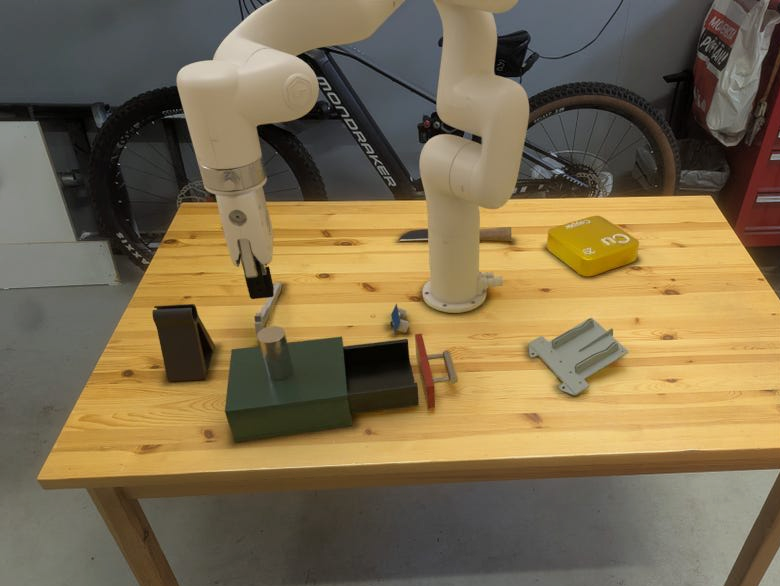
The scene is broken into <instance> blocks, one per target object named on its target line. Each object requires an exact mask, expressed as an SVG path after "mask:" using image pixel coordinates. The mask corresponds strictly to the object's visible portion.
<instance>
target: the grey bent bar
mask: <svg viewBox="0 0 780 586" xmlns="http://www.w3.org/2000/svg"><path fill="white" fill-rule="evenodd" d="M282 286H283V283H282V282H274V284H273V287H274V291H273V292H274V296H273V297H269V298H267V299H266V300H265V301H266V302H265V304H264V306H262V307H261V309H260V311H259V312H255V315H254V316H253V317H254V328H255V334H256V336H257V334H258V333H259V331H260V330H262V329H264V328H266V327H267V326H268V324H270V321H271V313H272V311H273V309H274V307H275V305H276V302H277V300H278V298H279V296H280V294H281V291H282V289H283V288H282ZM256 339H257V340H258V338H257V337H256ZM257 343H258V344H259V342H258V341H257Z"/></svg>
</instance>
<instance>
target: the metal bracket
mask: <svg viewBox="0 0 780 586" xmlns="http://www.w3.org/2000/svg"><path fill="white" fill-rule="evenodd" d="M528 353H529V357H530V358H532V359H533V358H536V357H539V358H540V359H541V360H542V361H543V362H544V364H545V365H546V366H547V367H548V368H549V369H550V370H551V372H553V373H554V375H555V376H556V377H558V378H559V380H560V381H561V382H562V384H560V385H559V386H558V389H559V390H560V391H561V392H564V393H567V394H568V395H572V396H578V395H579V394H581V393H582V392H584V391H587V390H588V389H589V388H590V384H589V383H588V382H587V381H586V379H587V378H589V377H591V376H592V375H594V374H595V373H597V372H599V371H600V370H602V369H604V368H606V367H607V366H609V365H610V364H613V363H614V362H616V361H618V360H619V359H621V358H622V357H624V356H626V355H627V354H629V350H628V349H627V348H626V347H625V346H624V345H622V344H621V342H619V340H617V339H616V338H615V337H614V328H612V327H611V328H610V329H607V330H606V329H605V328H604V327H603V326H602V325H601V324H600V323H599V322H598V321H597V320H595V318H593V317H589V318H587V319H586V320H584V321H582V322H581V323H579V324H577V325H575V326H574V327H572V328H569V329H568V330H566V331H565V332H562V333H561V334H559V335H558V336H556V337H554V338H552V339H551V340H548V339H546V338H545V337H544V336H543V335H541V336H540V335H539V336H538V337H536V338H535V339H533V340H532V341H531V340H530V342H529V343H528Z"/></svg>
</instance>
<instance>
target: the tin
mask: <svg viewBox="0 0 780 586" xmlns="http://www.w3.org/2000/svg"><path fill="white" fill-rule="evenodd" d="M286 334H287V333H286V331H285V329H284V328H283V327H281V326H278V325H269V326H266V328H264V329H262V330H260V331H259V333H258V334H257V335H256V339H257V338H258V339H257V343H258V342H259V343H258V346H260V350H261V354H262V358H263V362H264V365H265V369H266V373H267V376H268V378H269V379H271V380H274V381H281V380H285V379H287V378H289V377H290V376H291V375H292V374H293V366H292V361H291V357H290V352H289V348H288V343H289V342H288V339H287V335H286Z"/></svg>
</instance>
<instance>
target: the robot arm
mask: <svg viewBox="0 0 780 586" xmlns="http://www.w3.org/2000/svg"><path fill="white" fill-rule="evenodd" d="M405 2H406V0H271V1H268V2H266V3H265V4H263V5H262V6H260V7H259V8H257V9H256V10H254V11H253V12H251V13H250V14H249V15H248V16H247V17H245V18H244V19H243V20H242V21H241V22H240V23H239V24H238V25H237V26H236V27H234V29H233V30H232V31H231V32H229V33H228V34H227V36H226V37H225V38H224V39H223V40H222V42H221V43H220V44H219V46H218V48H217V49H216V51H215V53H214V55H213V59H212V60H211V59H210V60H208V59H207V60H200V61H196V62H192V63H189V64H186V65H184V66H183V67H182V68H180V70H179V71H178V73H177V75H176V86H177V92H178V94H179V98H180V102H181V107H182V110H183V113H184V117H185V121H186V124H187V129H188V131H189V136H190V139H191V143H192V147H193V150H194V154H195V158H196V161H197V165H198V169H199V172H200V176H201V180H202V183H203V188H204V189H205V190H206V192H208V193H210V194H212V195H213V194H214V195H215V199H216V205H217V209H218V210H217V211H218V213H219V218H220V223H221V226H222V230H223V234H224V239H225V242H226V246H227V249H228V253H229V256H230V260H231V263H232V265H234V266H235V267H236V268H240V266H241V267H242V270H243V274H244V279H245V283H246V288H247V292H248V295H249V298H250V299H251V300H258V299H266V298H267V299H268V298H269V297H273V296H274V292H273V291H274V283H273V278H272V274H271V270H270V266H268V265H270V264H271V263H272V262H273V258H274V257H273V255H274V229H273V227H274V226H273V224H272V223H273V222H272V220H271V216H270V212H269V208H268V204H267V200H266V195H265V191H264V188H263V187H264V186H265V185H266V183H267V181H268V178H267V177H268V176H267V172H266V167H265V163H264V157H263V153H262V149H261V144H260V138H259V134H258V133H259V132H258V128H257V127H258V126H260V125H269V124H276V123H285V122H292V121H295V120H298V119H300V118H302V117H304V116H305V115H307V114H308V113H309V112H310V111H312V110H313V108H314V106H315V105H316V103H317V101H318V98H319V93H320V92H319V91H320V86H319V85H320V84H319V80H318V77H317V75H316V73H315V71H314V70H313V69H312V68H311V66H310V65H309V64H308V63H307V62H305V61H304V60H303V59H301V58H299V57H297V56H299V55H301V54H303V53H306V52H309V51H312V50H315V49H319V48H327V47H333V46H341V45H342V46H343V45H348V44H352V43H353V44H354V43H356V42H360V41H363V40H366V39H368V38H370V37H372V35H373V34H375V32H376V31H377V30H378V29H379V28H380V27H381V26H382V25H383V24H384V23H385V22H386V21H387V20H388V19H389V18H390V17H391V16H392V15H393V13H394V12H396V11H397V10H398V8H399V7H401V5H402V4H403V3H405ZM432 2H433V4H434V5H435V7H436V9H437V11H438V14H439V17H440V20H441V26H442V35H443V36H442V47H441V49H442V50H441V58H440V66H439V75H438V84H437V92H436V104H435V106H436V108H435V109H436V113H437V116H438V117H439V119H440V120H441V122H443V123H444V124H445V125H447V126H450V127H452V128H453V129H456V130H460V131H462V132H465V133H468V134H471V135H474V136H477V137H480V138H481V139H482V140H481V143H479V142H477V141H474V140H471V139H468V138H465V137H461V136H459V135H455V134H450V133H444V134H443V133H441V134H438V135H435V136H432V137H431V138H429V139H428V140H427V141H426V143H424V145H423V147H422V149H421V152H420V155H419V166H418V167H419V175H420V179H421V184H422V186H423V191H424V196H425V202H426V215H427V229H428V240H427V241H428V243H427V244H428V264H429V280H427V282H425V283H424V285H423V286H422V299H423V301H424V302H425V304H426V305H427V306H429V307H430V308H431V309H434V310H436V311H439V312H443V313H450V314H456V313H459V314H460V313H466V312H469V311H473V310H474V309H477V308H478V307H479V306H481V305H482V304H484V302H485V300H486V298H487V290H488V288H498V287H503V286H504V279H503V276H495V274H494V271H488V272H487V271H486V272H482V271H480V240H479V239H480V229H481V213H480V208H483V209H486V210H498V209H500V208H502V207H504V206H505V205H506V204H507V203H508V202H509V201H510V199H511V197H513V194H514V191H515V189H516V185H517V181H518V177H519V172H520V168H521V163H522V157H523V153H524V146H525V142H526V137H527V131H528V125H529V120H530V102H529V98H528V94H527V92H526V90H525V89H524V87H523V86H522V85H521V84H520V83H519V82H517V81H515V80H513V79H512V78H511V79H510V78H507V77H504V76H500V75H496V73H495V65H496V64H495V63H496V55H497V47H498V46H497V45H498V31H497V25H496V20H495V17H494V15H493V14H503V13H506V12H508V11H510V10H511V9H512V8H514V7H515V6H516V5H517V4H518V2H519V0H432Z"/></svg>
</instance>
